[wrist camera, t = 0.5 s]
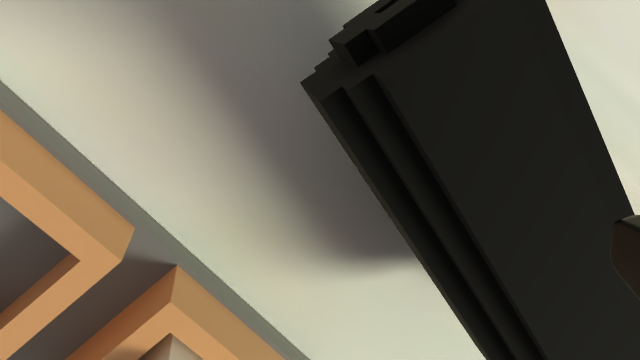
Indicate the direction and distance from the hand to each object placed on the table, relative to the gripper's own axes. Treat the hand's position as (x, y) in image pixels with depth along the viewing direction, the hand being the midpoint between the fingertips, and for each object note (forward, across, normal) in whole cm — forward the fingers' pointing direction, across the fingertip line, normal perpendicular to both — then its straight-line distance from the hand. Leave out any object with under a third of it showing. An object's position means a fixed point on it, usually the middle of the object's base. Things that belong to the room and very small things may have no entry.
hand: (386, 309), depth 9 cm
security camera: (+14, -7, +6) cm, 17 cm away
